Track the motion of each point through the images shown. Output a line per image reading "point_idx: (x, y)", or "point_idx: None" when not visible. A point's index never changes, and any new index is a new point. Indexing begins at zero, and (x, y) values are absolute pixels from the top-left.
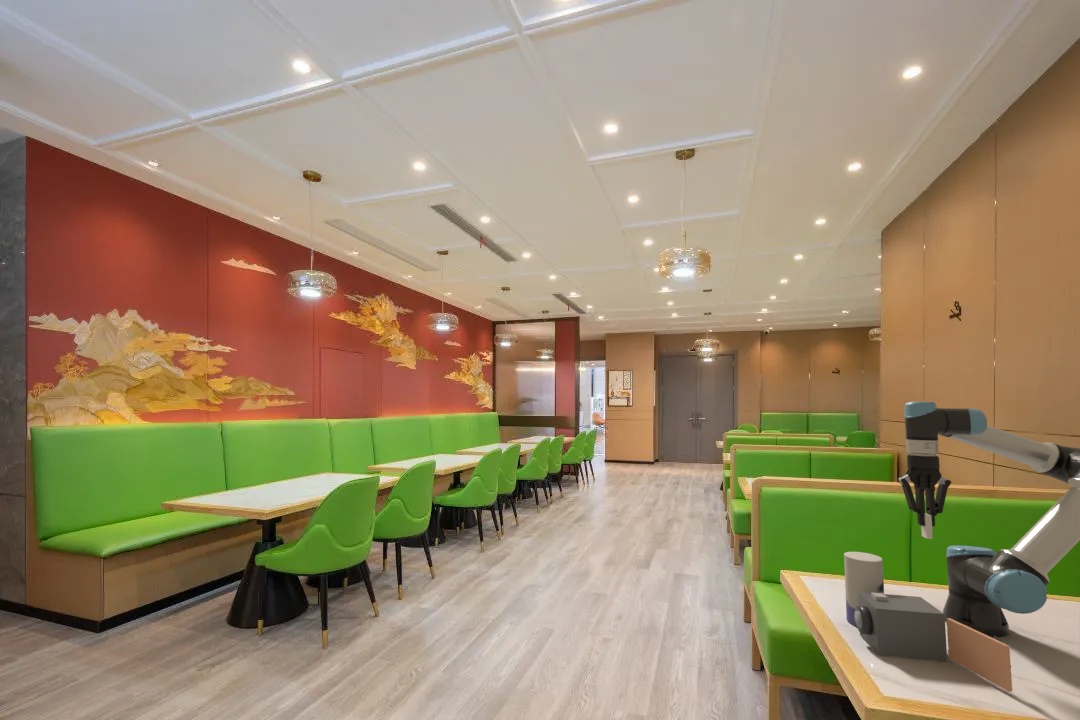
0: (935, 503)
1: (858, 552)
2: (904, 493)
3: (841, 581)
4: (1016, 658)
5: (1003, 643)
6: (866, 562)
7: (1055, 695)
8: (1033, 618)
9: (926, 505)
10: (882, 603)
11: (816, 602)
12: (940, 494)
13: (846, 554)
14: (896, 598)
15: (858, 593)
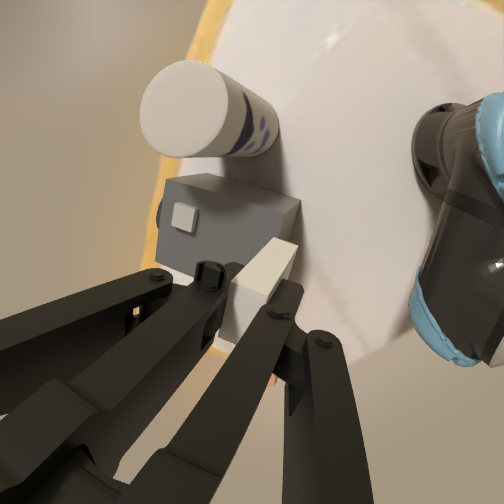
0: (305, 387)
1: (188, 71)
2: (38, 307)
3: None
4: (403, 273)
5: (273, 380)
6: (164, 154)
7: (344, 354)
8: None
9: (241, 341)
10: (177, 241)
11: (215, 40)
12: (285, 498)
13: (146, 97)
14: (221, 218)
15: (166, 181)
